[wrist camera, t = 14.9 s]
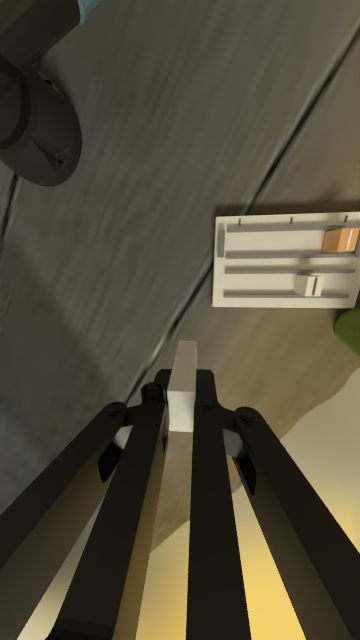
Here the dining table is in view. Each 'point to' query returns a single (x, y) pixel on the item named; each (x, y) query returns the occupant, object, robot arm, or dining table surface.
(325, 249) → the fader knob
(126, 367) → the dining table surface
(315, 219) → the fader panel
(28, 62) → the robot arm
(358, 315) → the plant pot
